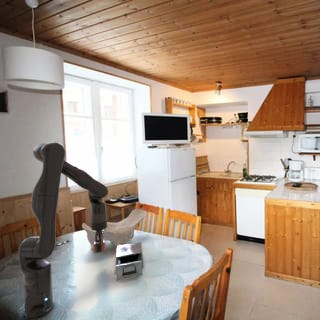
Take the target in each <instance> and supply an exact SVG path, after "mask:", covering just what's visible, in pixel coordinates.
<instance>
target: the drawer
mask: <svg viewBox="0 0 320 320" xmlns="http://www.w3.org/2000/svg"><path fill="white" fill-rule="evenodd" d="M115 275H116V281H120V280H125V279H129V278H134V277H137V276H142V275H143V259H142V260H141V261H140V254H138V255H132V256H127V257H121V258H119V261H118V265H116V264H115Z"/></svg>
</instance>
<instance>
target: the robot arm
mask: <svg viewBox="0 0 320 320" xmlns="http://www.w3.org/2000/svg"><path fill="white" fill-rule="evenodd" d="M32 154H33V157H34V158H35V159H36V160H37V161H39V162H41V163H42V171H41V174H40V176H39V178H38V180H37V181H36V183H35V185H34V187H33V189H32V193H31V199H30V209H31V212H32V215H34V217H35V219H36V220H37V222H38V226H39V236H38V235H37V236H28V237H26V238H24V239H23V240H22V241H21V243H20V245H19V247H18V262H19V270H20V272H21V274H22V277H23V278H22V279H23V300H24V302H23V303H24V317H25V318H26V319H25V320H29V319H33V318H34V320H38V317H41V316H45V315H46V314H47V313H48V312H49V311H51V309H53V307H54V299H53V298H54V297H53V275H52V273H53V271H52V263H51V262H50V261H48V260H46V259H49V258H50V257H51V256H52V255H53V254H54V252H55V249H56V245H57V244H56V243H57V214H58V213H57V212H58V205H59V197H60V188H61V187H60V186H61V180H62V179H61V177H62V175H63V176H65V177H66V178H68V179H69V180H71V181H72V182H74V184H76V185H77V186H79V187H80V188H82V189H83V190H87V192H88V193H87V195H88V200H89V202H90V207H91V213H90V214H91V215H90V228H91V230H93V231H96V232H95V243H96V245H95V246H97V252H98V253H102V252H101V245H102V244H101V242H102V240H103V234H104V230H103V229H105V228H107V222H108V215H107V204H106V202H105V201H104V200H103V199H105V198H106V197H107V196H108V195H109V188H108V187H107V186H106V185H105V184H104V183H102V182H100V181H99V180H96V179H95V178H93V176H92V175H90V174H89V173H88V172H87V171H85V170H83V169H82V168H80V167H78V166H76V165H75V164H72V163H70V162H69V161H67V160H65V159H66V149H65V146H64V145H63V144H61V143H60V142H58V141H57V142H56V141H50V142H42V143H39V144H37V145H36V146H34V148H33V149H32ZM97 242H100V243H98V244H97Z"/></svg>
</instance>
